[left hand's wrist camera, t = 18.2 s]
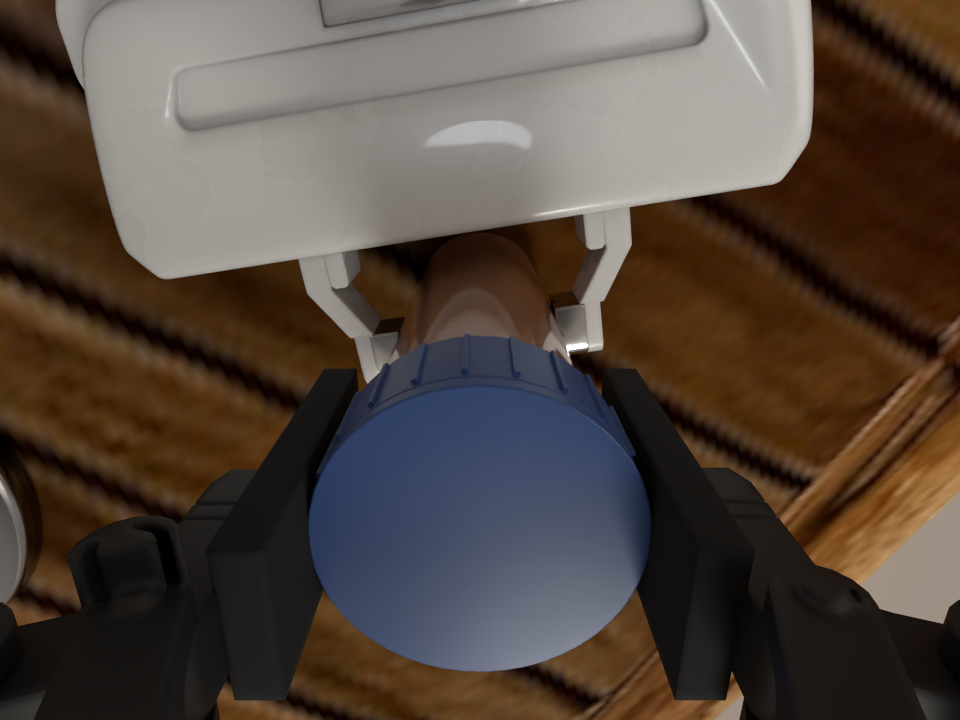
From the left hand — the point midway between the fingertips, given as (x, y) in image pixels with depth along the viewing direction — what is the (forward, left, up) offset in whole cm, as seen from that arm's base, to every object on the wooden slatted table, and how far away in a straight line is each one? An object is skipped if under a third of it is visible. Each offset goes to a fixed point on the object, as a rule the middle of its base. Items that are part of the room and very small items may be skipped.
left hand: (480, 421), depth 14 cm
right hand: (+1, -1, -6) cm, 6 cm away
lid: (0, 0, +4) cm, 4 cm away
